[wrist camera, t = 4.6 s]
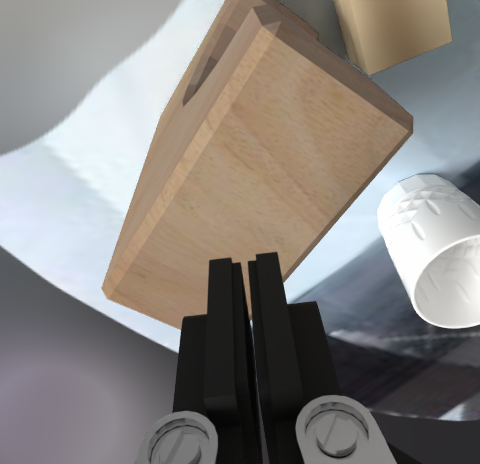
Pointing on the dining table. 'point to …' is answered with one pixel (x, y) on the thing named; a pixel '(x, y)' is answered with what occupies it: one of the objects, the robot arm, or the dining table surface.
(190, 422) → the robot arm
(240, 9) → the decorative block
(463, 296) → the white cup
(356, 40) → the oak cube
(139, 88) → the dining table surface
